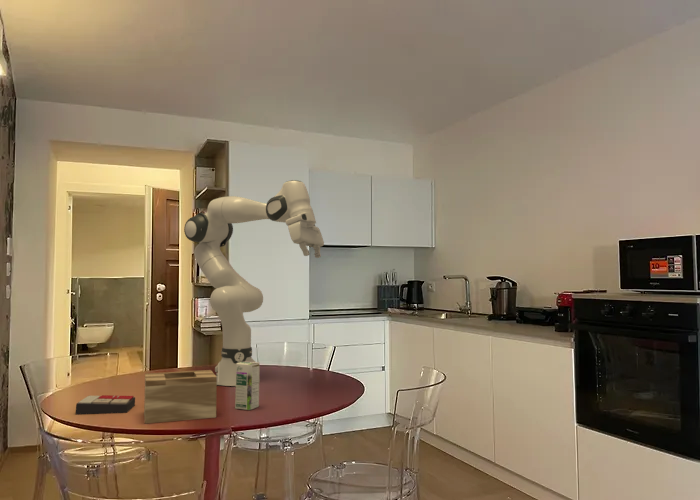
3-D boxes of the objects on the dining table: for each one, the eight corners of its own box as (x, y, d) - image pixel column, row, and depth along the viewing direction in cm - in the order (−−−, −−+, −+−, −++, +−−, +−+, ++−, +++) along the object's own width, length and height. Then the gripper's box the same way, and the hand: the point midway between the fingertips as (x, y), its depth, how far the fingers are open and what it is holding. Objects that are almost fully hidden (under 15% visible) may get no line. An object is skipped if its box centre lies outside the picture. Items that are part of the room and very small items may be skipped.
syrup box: (234, 409, 173) (234, 363, 174) (244, 405, 178) (245, 360, 179) (249, 410, 171) (250, 364, 172) (259, 406, 176) (260, 361, 177)
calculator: (127, 402, 168) (76, 401, 166) (126, 416, 168) (74, 415, 166) (135, 394, 179) (87, 393, 177) (134, 408, 179) (86, 407, 176)
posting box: (144, 412, 168) (145, 373, 169) (210, 407, 175) (210, 369, 176) (144, 423, 155) (145, 381, 156) (216, 417, 162) (216, 376, 163)
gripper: (308, 227, 211) (317, 261, 209) (282, 220, 192) (292, 257, 190) (322, 222, 209) (331, 256, 206) (298, 214, 190) (307, 251, 188)
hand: (312, 256), depth 198 cm, fingers open, 8 cm apart
